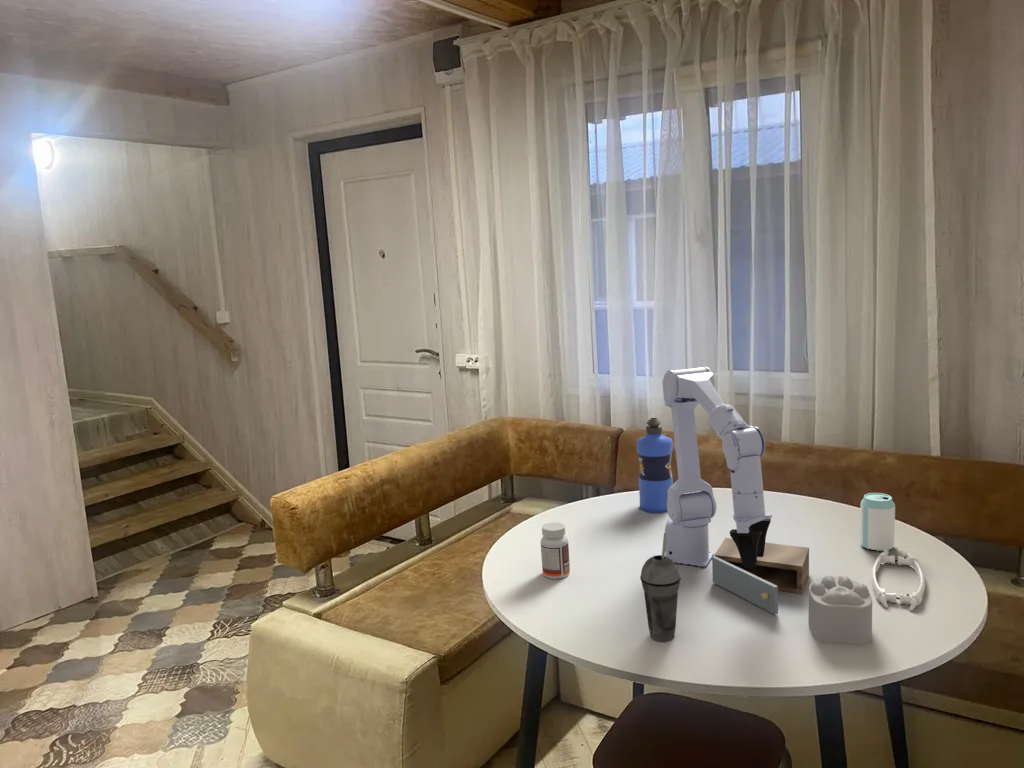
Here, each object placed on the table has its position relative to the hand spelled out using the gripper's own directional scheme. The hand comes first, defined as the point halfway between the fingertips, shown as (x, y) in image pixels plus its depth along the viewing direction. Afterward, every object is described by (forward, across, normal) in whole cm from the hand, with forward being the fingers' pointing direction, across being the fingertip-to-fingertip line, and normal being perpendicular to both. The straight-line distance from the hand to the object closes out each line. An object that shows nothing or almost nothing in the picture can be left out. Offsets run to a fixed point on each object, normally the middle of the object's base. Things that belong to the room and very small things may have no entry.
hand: (753, 561), depth 148 cm
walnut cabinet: (+8, +17, +2) cm, 19 cm away
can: (+8, +42, -19) cm, 47 cm away
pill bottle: (+6, +4, +45) cm, 45 cm away
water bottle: (+1, +52, +36) cm, 63 cm away
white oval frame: (+11, +24, -23) cm, 35 cm away
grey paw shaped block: (+12, +1, -14) cm, 19 cm away
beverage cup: (+11, -13, +15) cm, 23 cm away
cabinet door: (+9, +6, +4) cm, 12 cm away
